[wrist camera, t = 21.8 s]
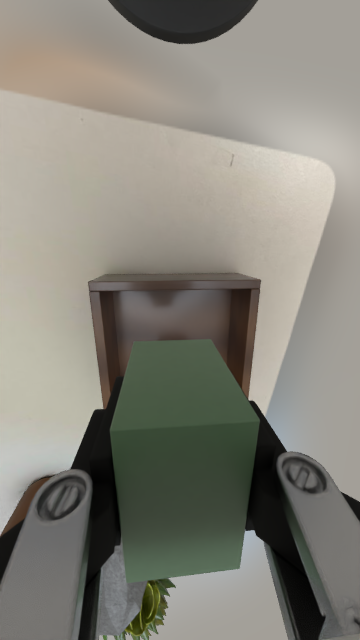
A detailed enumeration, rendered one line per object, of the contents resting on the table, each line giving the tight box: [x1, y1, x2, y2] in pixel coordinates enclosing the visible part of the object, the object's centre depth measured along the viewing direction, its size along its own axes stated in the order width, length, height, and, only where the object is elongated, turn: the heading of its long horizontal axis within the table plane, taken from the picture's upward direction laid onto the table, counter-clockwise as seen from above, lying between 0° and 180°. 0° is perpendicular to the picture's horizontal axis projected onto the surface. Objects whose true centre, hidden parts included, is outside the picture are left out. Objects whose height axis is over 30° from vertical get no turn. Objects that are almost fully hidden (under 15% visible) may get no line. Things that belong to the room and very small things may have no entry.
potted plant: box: [99, 539, 176, 640], centre depth 27 cm, size 12×13×15 cm
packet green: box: [110, 339, 260, 583], centre depth 8 cm, size 6×3×5 cm, turn 0°
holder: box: [88, 273, 261, 409], centre depth 23 cm, size 15×14×6 cm
